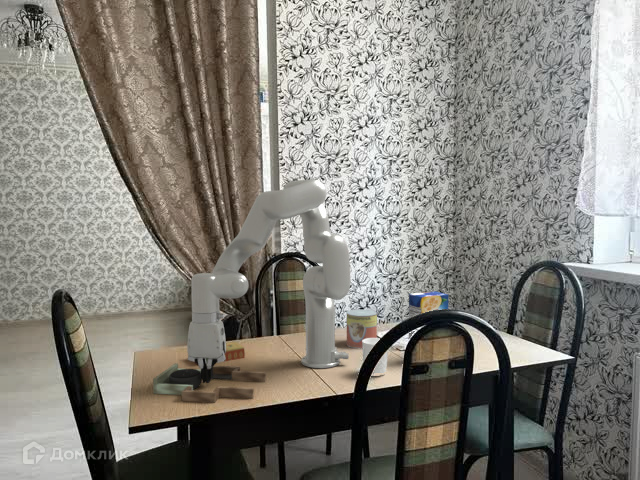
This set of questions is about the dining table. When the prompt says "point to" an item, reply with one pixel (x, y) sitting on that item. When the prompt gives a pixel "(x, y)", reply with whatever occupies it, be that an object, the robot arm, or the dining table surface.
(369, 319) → the canned food
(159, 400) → the dining table surface
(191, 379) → the smart speaker
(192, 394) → the wooden flat frame
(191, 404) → the dining table surface
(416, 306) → the beverage box
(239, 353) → the carton
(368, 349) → the white cup
